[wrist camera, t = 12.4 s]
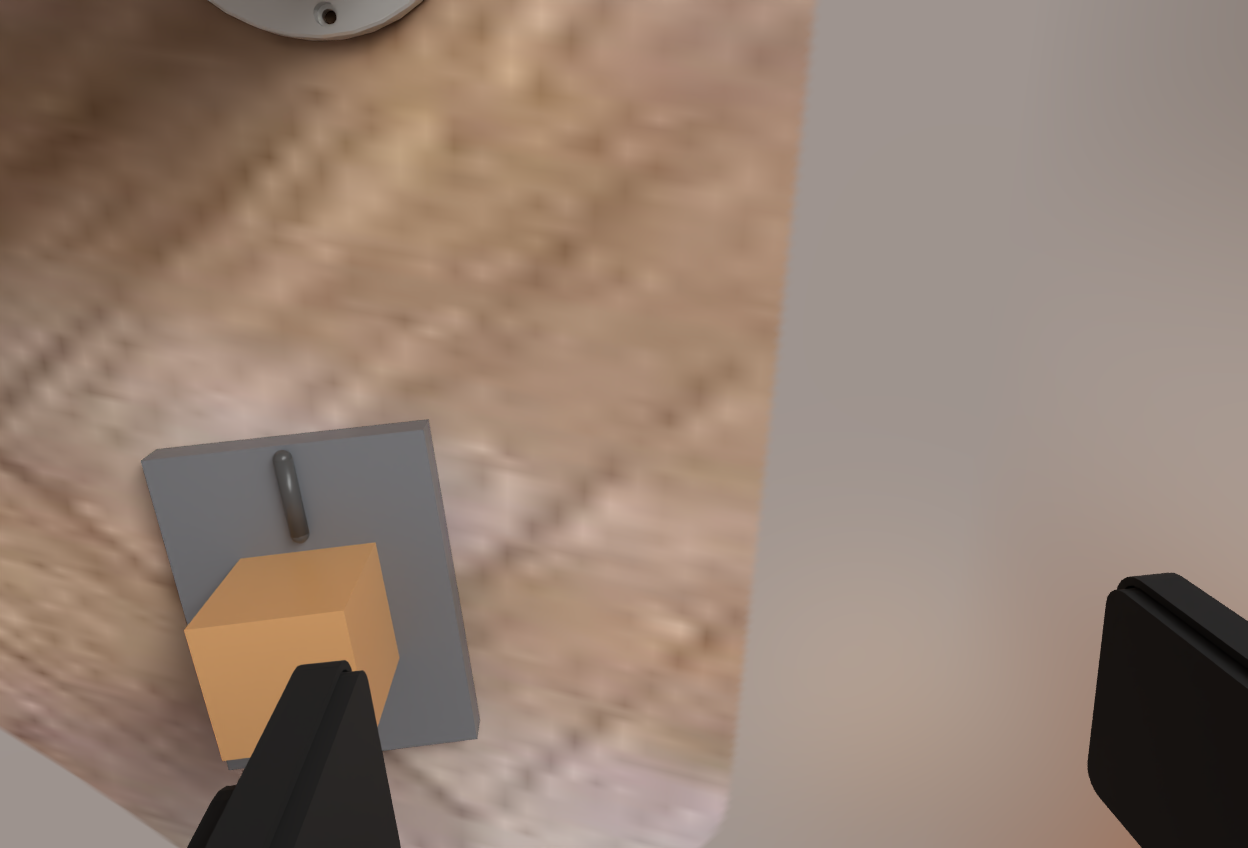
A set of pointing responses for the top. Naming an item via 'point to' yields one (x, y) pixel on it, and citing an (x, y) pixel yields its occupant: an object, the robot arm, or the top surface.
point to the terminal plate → (333, 517)
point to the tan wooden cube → (288, 634)
